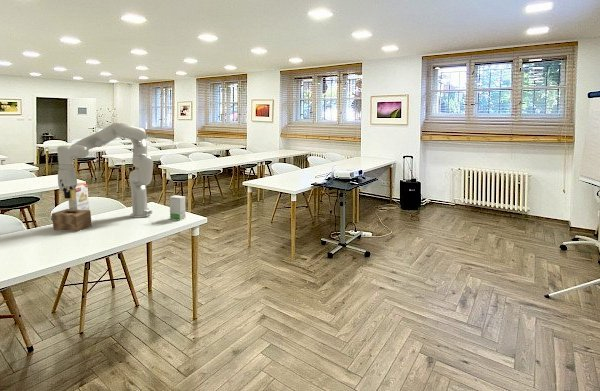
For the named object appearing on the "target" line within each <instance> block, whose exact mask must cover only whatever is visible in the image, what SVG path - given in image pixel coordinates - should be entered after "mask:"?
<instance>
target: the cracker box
mask: <svg viewBox="0 0 600 391" xmlns="http://www.w3.org/2000/svg"><path fill="white" fill-rule="evenodd" d="M77 184H78V185H77V186H76V187H75V191H76V199H75V200H68V209H77V210H90V201H89V199H90V198H89V190H88V187H89V186H88V183H85V182H84V183H83V182H81V183H80V182H79V183H77ZM71 187H72V186H71ZM68 189H69V187H68Z"/></svg>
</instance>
